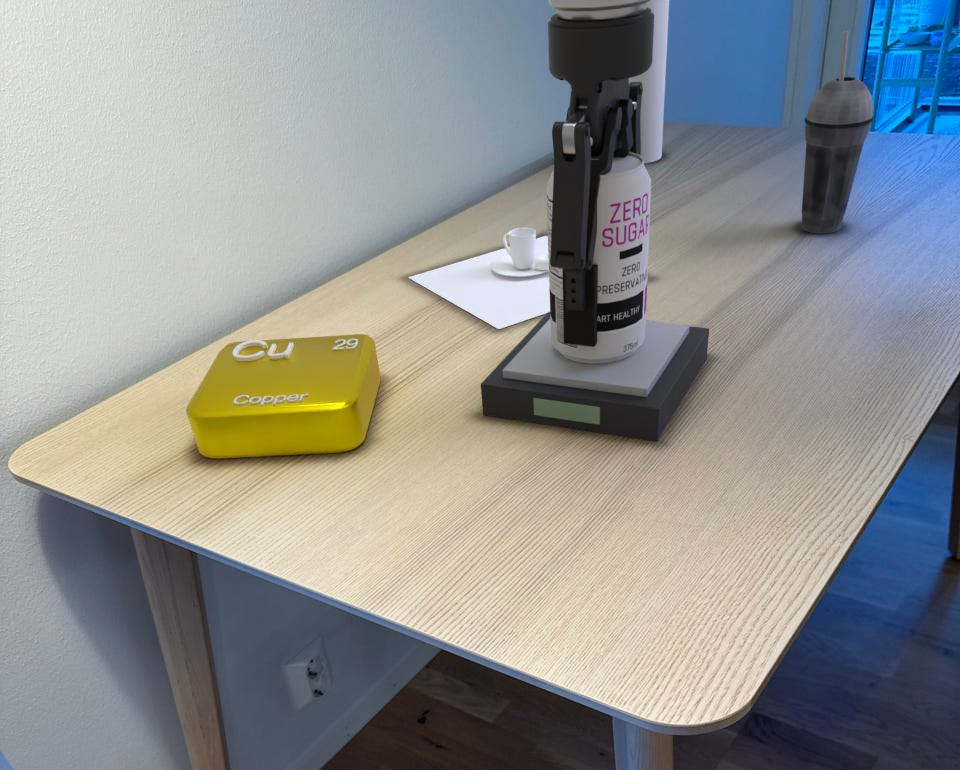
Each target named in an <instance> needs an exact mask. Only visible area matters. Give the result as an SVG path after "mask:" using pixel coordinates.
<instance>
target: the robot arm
mask: <svg viewBox="0 0 960 770" xmlns="http://www.w3.org/2000/svg"><path fill="white" fill-rule="evenodd" d="M649 1H651V0H547V3H548V5H549V6H550V7H551V8H552V9H554V10H556V13H554V14H553V15H552V16H551V17H550V20H549V21H548V22H547V38H548V39H547V40H548V42H547V43H548V45H547V47H548V70H549V73H550V74H551V76H552V77H553V78H554V79H557V80H559V81H565V82H566V83H568V84H569V86H570V89H571V90H570V96H569V106H568V108H567V111H566V117H565V121H554V122H553V124H552V129H551V137H552V149H553V151H552V152H553V170H554V178H553V205H552V232H551V258H550V264H551V266H552V267H556V268H563V325H564V343H565V344H573V345H582V346H590V347H594V346H595V345H596V344H597V299H598V265H597V264H593V258H594V250H595V243H596V235H597V198H598V192H599V185H600V175H605V174H607V173H609V172H610V170H611V168H612V162H613V157H626V156H627V155H628V154H629V152H633V153H635V154H638V155H640V156H641V125H640V113H641V100H642V93H643V87H642V82H629V79H628V78H632V77H635V76H638V75H640V74H643V73H644V72H646V71H647V70H648V69H649V68H650V66H651V64H652V58H653V34H654V14H653V13H652V10H651V9H650V8H648V7H647V2H649ZM591 159H598V160H591Z"/></svg>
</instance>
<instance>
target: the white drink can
mask: <svg viewBox="0 0 960 770" xmlns="http://www.w3.org/2000/svg"><path fill="white" fill-rule="evenodd" d="M591 160H598V159H591ZM553 178H554V169H553V170H552V173H551V175H550V177H549V179H548V182H547V184H546V186H545V188H546V189H545V190H546V192H545V193H546V215H547V216H546V220H547V221H546V222H547V236H548V257H549V289H550V321H551V341H552V345H553V347H554V348H555V349H557V350H558V351H559V352H560V354H561V355H563V356H564V357H565V358H567V359H570V360H573V361H576V362H581V363H589V364H596V363H608V362H613V361H618V360H621V359H623V358H626V357H628V356H630V355H631V354H632V353H633V352H635V351H636V349H637V348H638V347H639V346H640V345H642V344H643V341H644V338H645V324H646V321H647V320H646V319H647V299H648V298H647V297H648V279H647V278H648V273H649V272H648V271H649V247H650V245H649V244H650V225H651V224H650V222H651V201H652V200H651V198H652V179H651V176H650V174H649V173H648V170H647V168H646V166H645V163H644V159H643V158H642V157H641V156H640V155H638V154H635V153H633V152H629V154H628V155H627V156H626V157H613V162H612V168H611V170H610V172H609V173H607V174H605V175H600V185H599V192H598V198H597V235H596V243H595V250H594V258H593V264H597V265H598V299H597V344H596V345H595V346H594V347H590V346H582V345H573V344H565V343H564V325H563V268H556V267H552V266H551V264H550V258H551V232H552V205H553Z"/></svg>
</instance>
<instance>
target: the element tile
mask: <svg viewBox="0 0 960 770" xmlns="http://www.w3.org/2000/svg"><path fill="white" fill-rule="evenodd" d="M378 359H379V358H378V354H377V347H376V342H375V340H374V339H373V337H371V336H370V335H369V334H363V333H359V334H358V333H357V334H342V335H327V336H311V337H310V336H307V337H294V338H293V337H292V338H276V339H262V340H261V339H260V340H257V339H256V340H255V339H254V340H246V341H245V340H242V341H233V342H230V343H227V344H226V345H225V346H224V347H223V348H221V349H220V351H218V353H217V355H216V356H215V358H214V360H213V361H212V363H211V365H210V367H209V368H208V369H207V372H206V373H205V375H204V377H203V379H202V380H201V382H200V384H199V386H198V387H197V389H196V390H195V392H194V394H193V396H191V399H190V401H189V402H188V404H187V406H186V409H185V413H186V416H187V419H188V422H189V425H190V428H191V432H192V434H193V437H194V440H195V443H196V446H197V449H198V452H199V454H200V455H202V457H204V458H209V459H217V460H219V459H221V460H222V459H237V458H238V459H239V458H240V459H241V458H257V457H258V458H259V457H278V456H296V455H297V456H298V455H299V456H300V455H318V454H319V455H320V454H336V453H344V452H348V451H352V450H354V449H356V448H359V447H360V446H361V445H362V443H363V442H364V441H365V439H366V436H367V434H368V429H369V425H370V421H371V418H372V414H373V411H374V406H375V404H376V403H375V402H376V400H377V395H378V392H379V388H380V384H381V382H382V381H381V380H382V378H381V373H380V366H379V360H378Z"/></svg>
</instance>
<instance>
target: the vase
mask: <svg viewBox="0 0 960 770" xmlns="http://www.w3.org/2000/svg"><path fill="white" fill-rule="evenodd" d="M647 7H648V8H650V9H651V10H652V13H653V14H654V34H653V58H652V64H651V66H650V68H649V69H648V70H647V71H646V72H644V73H643V74H640V75H638V76H635V77H632V78H628V79H629V82H642V87H643V93H642V100H641V113H640V125H641V157H642V158H643V159H644V164H650V163H654V162H657V161H659V160H660V159H662V156H663V155H662V154H663V139H664V138H663V137H664V136H663V135H664V116H665V95H666V77H667V75H666V73H667V72H666V71H667V58H668V57H667V56H668V55H667V54H668V36H669V35H668V33H669V13H670V0H651V1H649V2H647Z"/></svg>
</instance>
